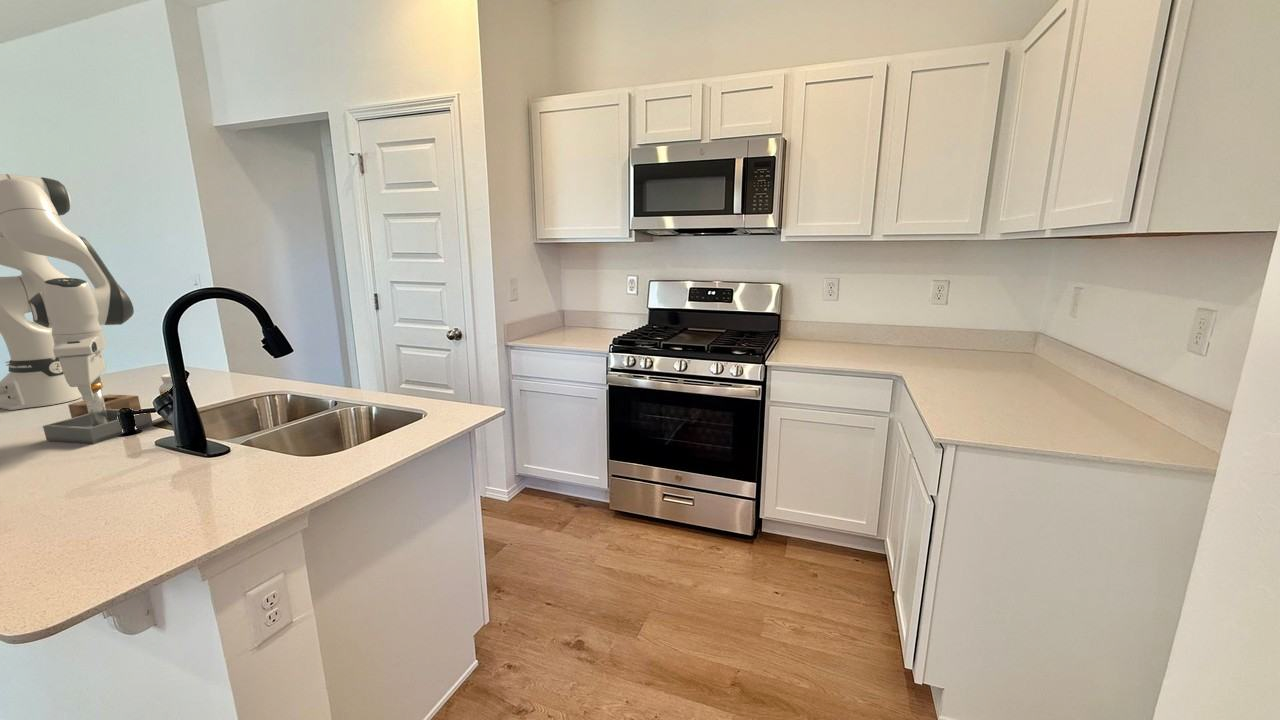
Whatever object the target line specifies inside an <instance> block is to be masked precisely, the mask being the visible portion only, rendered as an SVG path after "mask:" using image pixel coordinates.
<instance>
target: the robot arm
mask: <svg viewBox="0 0 1280 720" xmlns="http://www.w3.org/2000/svg"><path fill="white" fill-rule="evenodd" d="M71 205H72V198H71V194H70V193H69V191H68V190H67V188H66V187H65V185H64V184H62V182H60V181H59V180H55V179H53V178H48V177H43V176H42V177H36V176H28V175H21V174H13V173H6V174H4V173H3V174H1V173H0V266H4V267H7V268H11V269H15V270H18V271H20V272H21V274H20V275H16V276H15V275H14V276H13V275H12V276H0V334H1V336H2V338H3V341H4V343H5V345H6V347H7V351H8V353H9V358H10V360H9V361H5V364H6V365H5V366H8V372H9V373H7V374H6V375H5V376H4V377H3V378H2V379H1V380H0V409H2V410H3V409H4V410H8V411H13V410H14V411H15V410H21V409H28V408H37V407H46V406H51V405H57V404H62V403H67V402H72V401H75V400H78V399H81V398H82V401H91V400H93V399H94V394H93V392H92V390H91V383H93V382H102V374H104V372H106V371H107V369H106V368H107V367H106V362H105V361H106V360H105V358H104V355H103V351H102V350H104V349H106V348H107V347H108V346H107V343H106V337H105V333H104V329H103V327H102V326H103V325H104V326H114V325H115V326H118V325H119V326H120V325H123V324H125V323H126V322H127V321H129V320H130V319H131V317H132V316H133V315H134V311H135V310H134V305H133V304H134V303H133V301H132V299H131V298H130V297H129V295H128V294H127V293H126V291H125V290H124V289H123V288H122V287H121V286H120V284H118V282H117V281H116V279H115V277H114V276H113V275H112V273H111V272H110V270H109V269H108V267H107V266H106V264H105V262H104V261H103V260H102V259H101V257H100V256H99V254H98V253H97V251H96V250H95V249H94V247H93V246H92V245H91V243H90V242H89V241H88V240H87V239H86V238H85V237H83V236H81V235H78V234H76V233H74V232H73V231H71V230H70V229H69V228H67V227H66V226H65V225H64V223H63V222H62V221H61V218H60V216H64V215H66V214H68V212H69V211H70V210H71ZM47 257H50V258H54V259H59V260H63V261H67V262H69V263H72V264H75V265H76V266H78V267H80V269H81V271H83V273H84V274H85V276H86V277H87V279H88V280H89V282H90V283H91V284H92V286H93V288H91V286H90V283H88V281H86V280H84V279H81V278H73V277H71V276H69V275H66V274H64V273H62V272H61V271H59V270H58V269H57V268H55V267H54V266H53V265H52V264H51V262H49V259H48V258H47ZM28 313H31V314H32V321H30V320H28V319H27V318H26V315H25V314H28ZM101 325H102V326H101ZM7 363H8V364H7ZM101 390H102V391H103V388H101Z"/></svg>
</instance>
